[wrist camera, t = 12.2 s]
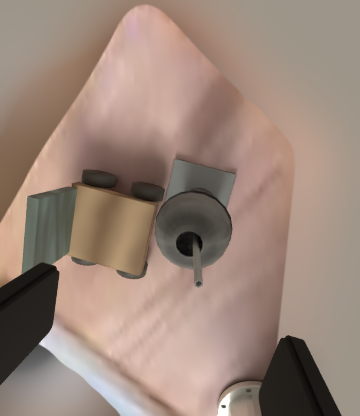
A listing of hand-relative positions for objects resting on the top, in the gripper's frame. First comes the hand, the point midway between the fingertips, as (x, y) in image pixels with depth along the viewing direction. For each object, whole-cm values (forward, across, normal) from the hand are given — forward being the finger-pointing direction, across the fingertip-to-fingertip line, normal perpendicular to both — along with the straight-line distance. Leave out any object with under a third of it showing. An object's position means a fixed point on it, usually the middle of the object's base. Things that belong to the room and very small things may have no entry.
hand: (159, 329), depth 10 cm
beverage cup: (+25, 0, 0) cm, 25 cm away
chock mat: (+25, 0, 0) cm, 25 cm away
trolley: (+25, +10, +5) cm, 28 cm away
